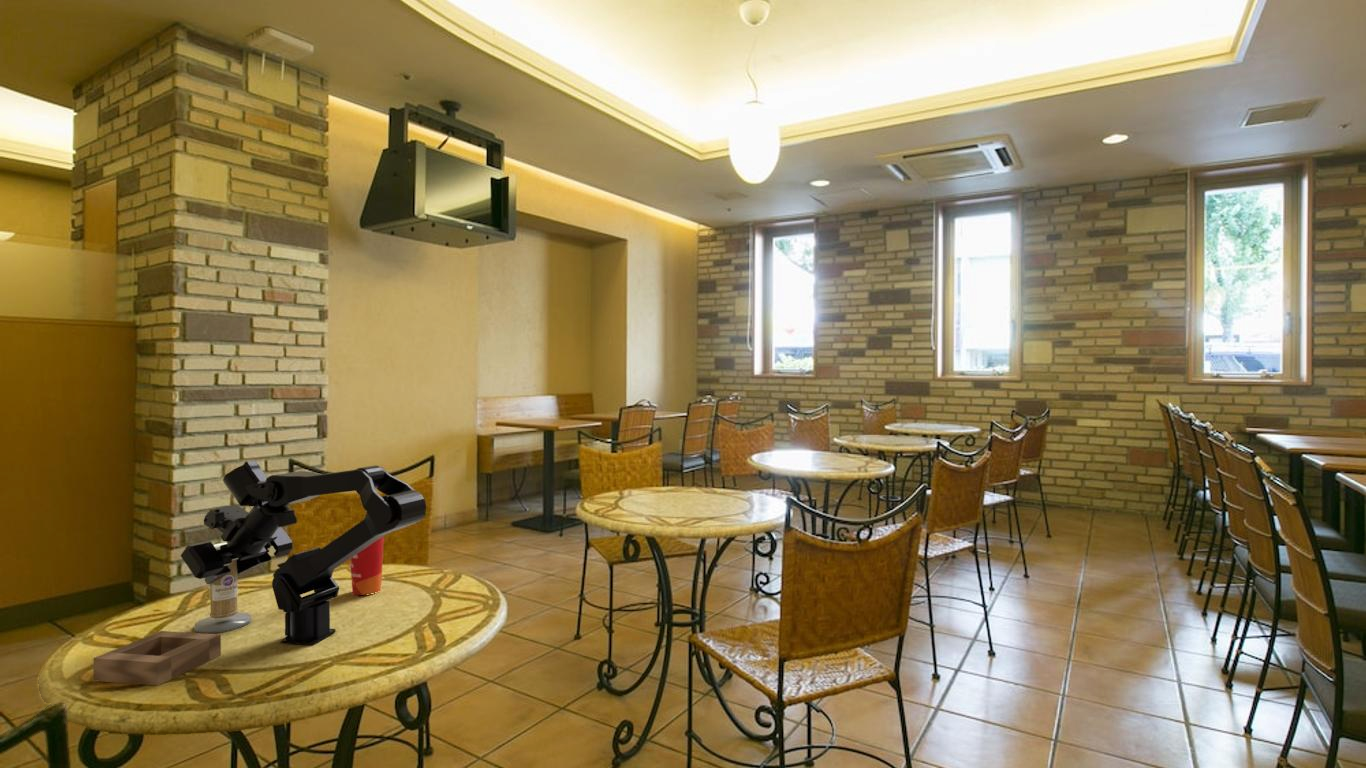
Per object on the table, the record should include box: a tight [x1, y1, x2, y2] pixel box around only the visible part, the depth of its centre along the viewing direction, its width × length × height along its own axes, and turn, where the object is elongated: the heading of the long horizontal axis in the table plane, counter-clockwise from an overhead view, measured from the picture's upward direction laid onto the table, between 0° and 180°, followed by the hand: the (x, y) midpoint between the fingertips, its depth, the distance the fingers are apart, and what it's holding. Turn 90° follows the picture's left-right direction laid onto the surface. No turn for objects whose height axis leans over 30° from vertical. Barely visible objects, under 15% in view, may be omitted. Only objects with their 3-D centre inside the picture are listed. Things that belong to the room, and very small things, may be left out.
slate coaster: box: [193, 611, 252, 634], centre depth 129 cm, size 9×9×1 cm
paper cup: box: [349, 535, 385, 596], centre depth 149 cm, size 8×8×14 cm
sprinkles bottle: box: [209, 542, 239, 619], centre depth 129 cm, size 5×5×14 cm
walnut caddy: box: [92, 630, 222, 687], centre depth 110 cm, size 12×12×4 cm
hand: (218, 579), depth 129 cm, fingers closed on sprinkles bottle, 4 cm apart
